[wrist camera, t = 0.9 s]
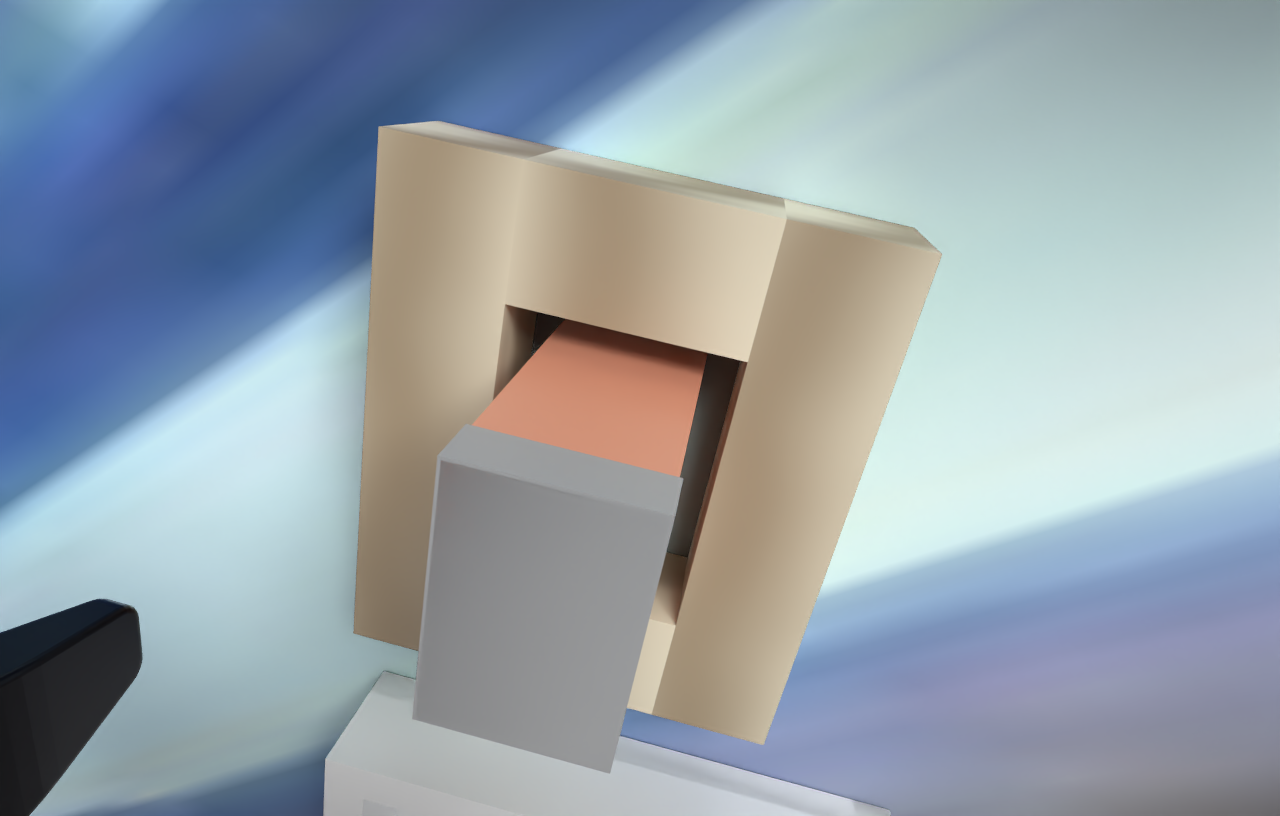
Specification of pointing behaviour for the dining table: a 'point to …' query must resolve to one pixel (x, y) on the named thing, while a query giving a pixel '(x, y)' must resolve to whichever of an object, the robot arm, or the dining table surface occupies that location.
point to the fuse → (555, 544)
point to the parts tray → (535, 775)
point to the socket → (651, 308)
